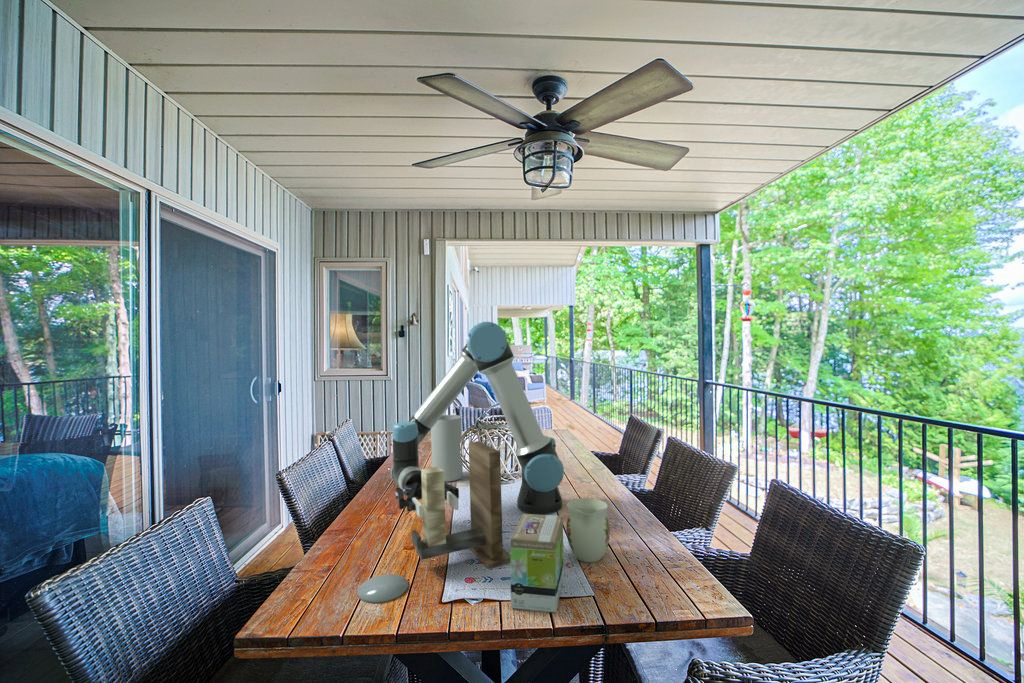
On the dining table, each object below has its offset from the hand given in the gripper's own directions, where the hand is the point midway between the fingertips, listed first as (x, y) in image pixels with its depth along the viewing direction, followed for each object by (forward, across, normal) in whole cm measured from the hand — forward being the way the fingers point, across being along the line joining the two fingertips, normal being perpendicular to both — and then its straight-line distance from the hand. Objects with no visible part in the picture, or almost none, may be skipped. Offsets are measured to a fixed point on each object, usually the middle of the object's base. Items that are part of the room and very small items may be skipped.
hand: (439, 507), depth 111 cm
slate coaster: (0, +14, -16) cm, 21 cm away
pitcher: (+9, -37, -16) cm, 41 cm away
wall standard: (-5, -6, -16) cm, 18 cm away
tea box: (+18, -17, -16) cm, 30 cm away
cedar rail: (-5, 0, -10) cm, 11 cm away
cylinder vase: (-75, -27, -16) cm, 81 cm away
